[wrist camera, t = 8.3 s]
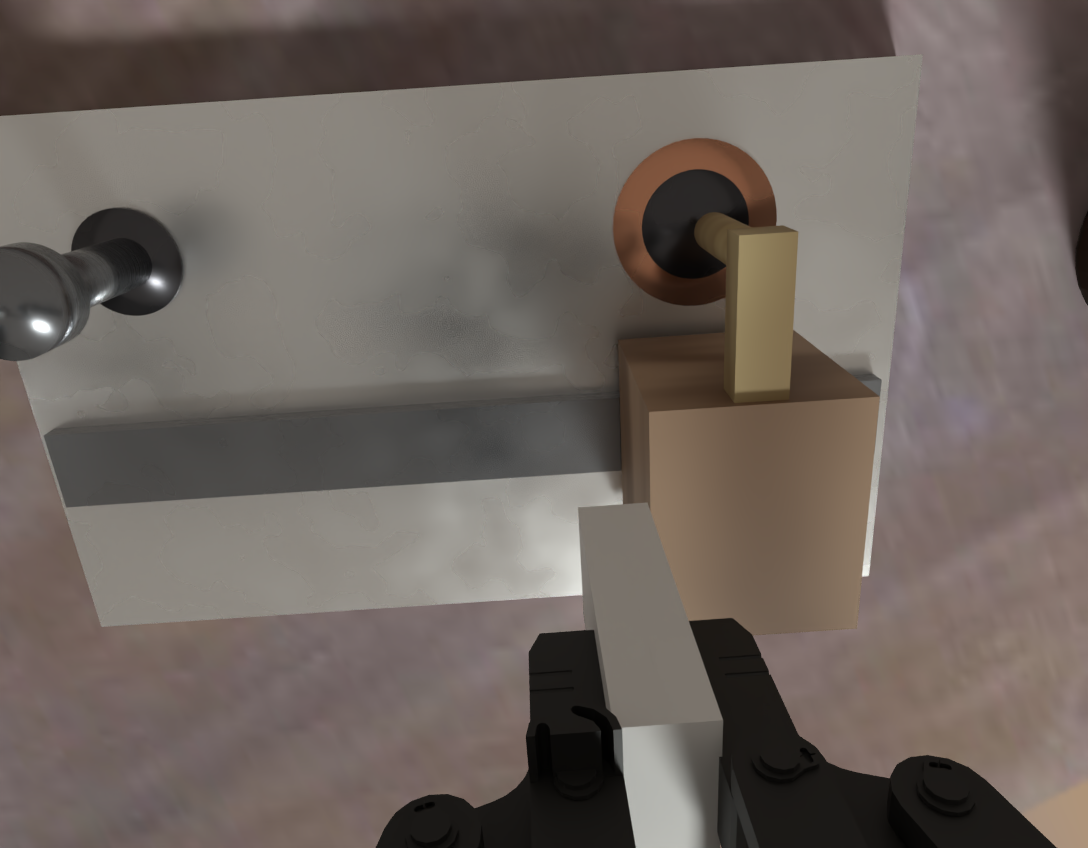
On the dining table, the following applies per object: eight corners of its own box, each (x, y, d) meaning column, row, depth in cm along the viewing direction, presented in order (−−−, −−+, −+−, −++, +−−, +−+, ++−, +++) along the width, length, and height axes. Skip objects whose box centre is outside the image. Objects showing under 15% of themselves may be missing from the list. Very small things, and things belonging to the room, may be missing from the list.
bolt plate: (122, 601, 28) (-6, 754, 21) (-24, 119, 22) (-265, 120, 15) (851, 552, 28) (955, 690, 21) (897, 58, 22) (1060, 31, 15)
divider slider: (623, 523, 25) (652, 641, 19) (614, 210, 21) (646, 243, 16) (781, 513, 25) (856, 628, 19) (798, 198, 21) (896, 226, 16)
